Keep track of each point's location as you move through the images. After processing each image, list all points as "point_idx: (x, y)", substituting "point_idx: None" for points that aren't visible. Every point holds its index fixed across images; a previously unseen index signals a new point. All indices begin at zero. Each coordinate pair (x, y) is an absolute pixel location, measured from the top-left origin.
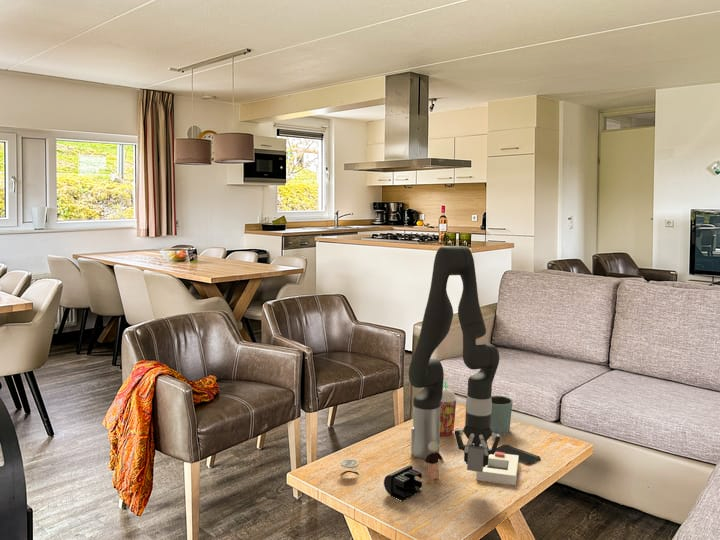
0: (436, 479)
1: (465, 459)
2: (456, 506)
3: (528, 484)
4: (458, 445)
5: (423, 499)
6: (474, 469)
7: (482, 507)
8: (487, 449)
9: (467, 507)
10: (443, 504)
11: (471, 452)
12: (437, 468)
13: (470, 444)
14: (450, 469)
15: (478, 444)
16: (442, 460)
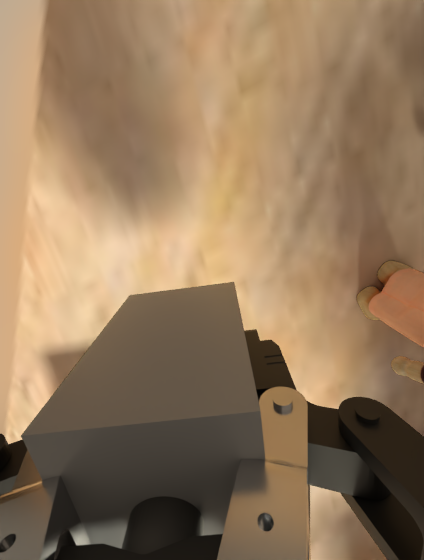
0: (376, 292)
1: (268, 352)
2: (232, 76)
3: (31, 408)
4: (411, 438)
5: (411, 73)
6: (182, 292)
7: (113, 131)
8: (22, 481)
9: (178, 93)
10: (300, 66)
11: (205, 369)
12: (408, 317)
13: (240, 491)
14: (330, 402)
15: (130, 534)
16: (409, 367)
